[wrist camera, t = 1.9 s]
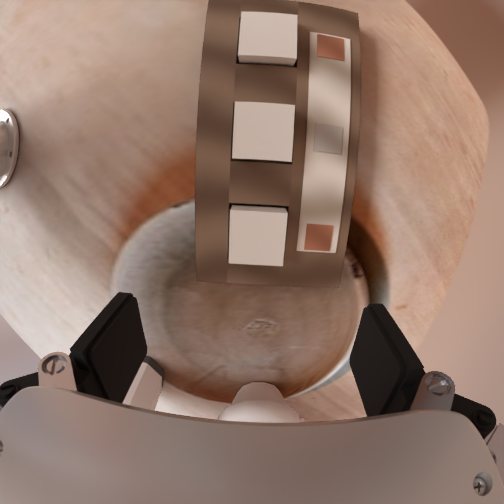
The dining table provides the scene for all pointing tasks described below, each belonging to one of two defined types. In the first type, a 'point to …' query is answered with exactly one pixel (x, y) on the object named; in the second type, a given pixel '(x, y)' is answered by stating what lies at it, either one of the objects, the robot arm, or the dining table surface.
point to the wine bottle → (146, 385)
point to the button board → (304, 144)
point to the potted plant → (259, 405)
